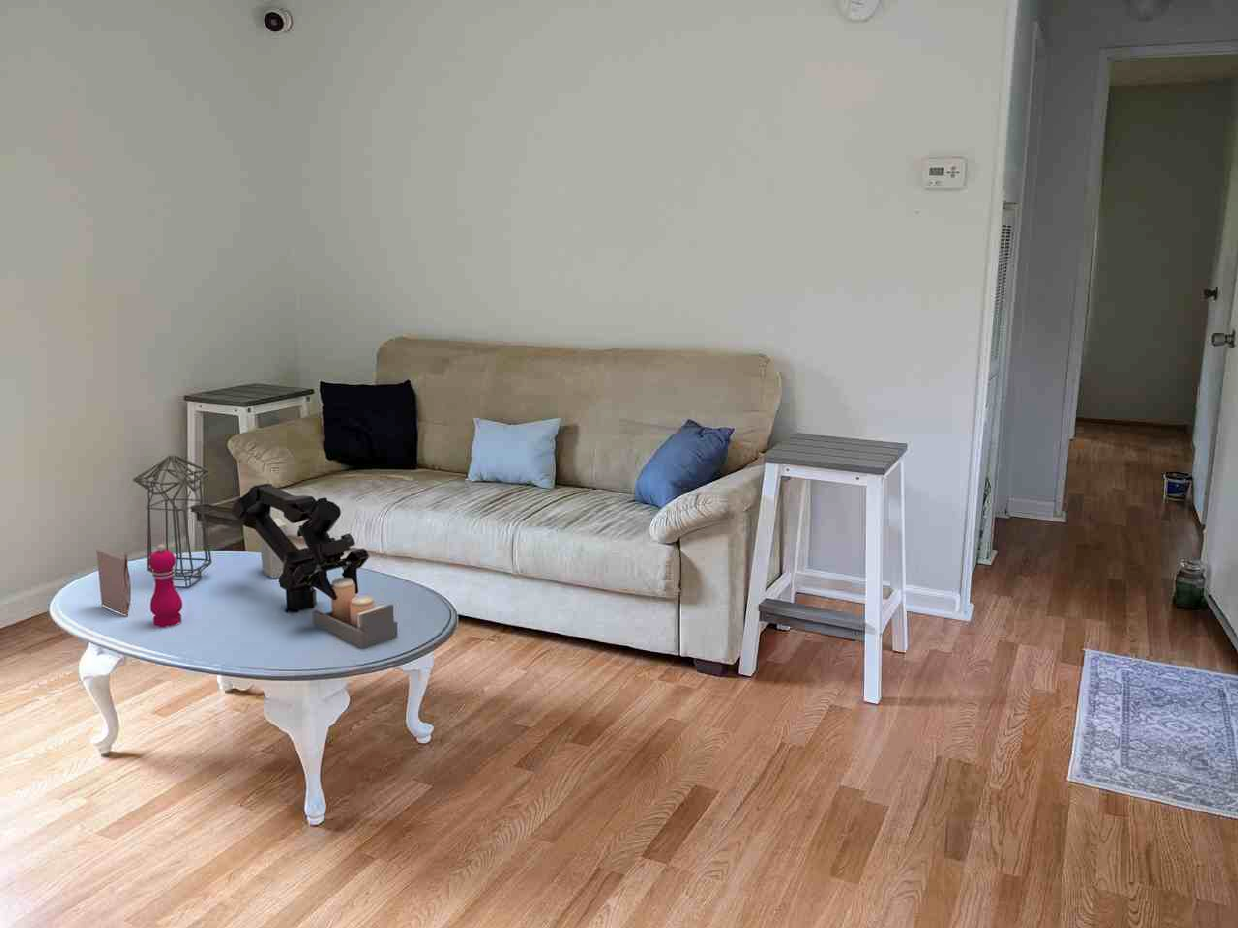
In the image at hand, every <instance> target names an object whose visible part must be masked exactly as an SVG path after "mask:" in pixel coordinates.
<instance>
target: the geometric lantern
mask: <svg viewBox="0 0 1238 928" xmlns="http://www.w3.org/2000/svg"><path fill="white" fill-rule="evenodd" d="M170 463H172V466H173V469H170V468H169V466H170ZM186 464H187V465H190V466H191V467H194V468H197V469H199V470H195V471H193V470H192V469H191V468H189V467H188V466H187V465H186ZM178 468H179V469H180V470H179V469H178ZM162 471H163V473H162V477H161V480H160V481H158V480H159V477H160V475H161V472H162ZM167 472H168V474H170V475H172V476H174V477H175V478H176V479H177V481H175V482H174V481H173V482H172V481H171V482H164V480H165V477H166V473H167ZM198 473H199V474H200V473H202V474H201V475H200V476H198ZM213 473H214V472H213V471H212V470H209V469H208V468H205V467H203V466H201V465H198V464H196V463H194V462H191V461H189V460H187V459H186V458H185V459H184V458H183V457H180V456H178V455H175V454H174V455H173V454H172V455H168V456H167V457H165V458H164V459H163V460H161V461H159V462H158V463H156V464H155V465H153V466H151V467H150V468H149V469H147V470H145V471H143V472H142V473H140V474H138V475H137V476H135V477H134V478H133V479H132V481H133V482H134V483H136V484H138V485H139V486H141V487H142V488H144V489H145V490H147V491H146V493H147V494H146V495H147V504H146V508H145V509H147V517H146V520H147V521H146V522H147V524H146V525H147V527H146V528H147V529H146V530H147V531H146V533H147V534H146V535H147V536H146V538H147V539H146V541H147V542H146V571H148V572H149V573H151V574H152V571H153V569H152V568H151V567H150V566H149V558H150V556H151V555H152V554H153V553H152V535H151V532H152V531H151V514H150V513H151V512H150V510H154V511H164V512H165V550H167V551H169V524H168V523H169V522H168V521H169V517H168V515H169V514H168V512H169V511H172V516H173V529H174V531H173V533H174V545H175V546H174V547H175V558H176V564H175V566H174V567H175V568H173V569H174V573H175V575H174V576H173V581H184V583H185V586H184V585H174V586H175V588H183V589H189V588H190V587H193V585H195V584H196V583H198V582H199V581H200V580H202V579H203V577H202V572H203V571H205V569H207V567H209V566H210V565H211V564H212V557H211V549H210V542H209V538H208V530H207V524H206V518H205V512H204V506H203V505H204V504H203V503H204V499H203V489H202V488H203V485H204V483H205V482H206V481H207V479H208V477H209V476H210V475H211V474H213ZM180 474H183V476H184V479H183V478H181V475H180ZM146 475H147V476H146ZM144 476H145V477H144ZM191 476H194V477H193V478H191ZM150 478H152V480H149V479H150ZM202 479H203V480H202ZM198 481H199V485H198V486H197V485H196V483H197V482H198ZM157 484H158V485H159V487H160V490H161V491H160V490H159V488H158V487H157ZM170 485H171V486H170ZM184 485H187V486H188V488H189V489H190V491H189V493H188V494H187V497H186V498H176V497H177V496H178V494H179V493H180V491H181V488H183V486H184ZM163 486H170V487H168V488H167V489H165V490H164V489H163ZM178 486H179V487H178ZM196 486H197V487H196ZM176 487H178V488H177V491H176V492H175V493H174V495H173V497H172V498H170V497H169V495H168V494H167V492H169V491H171V490H172V489H174V488H176ZM154 488H155V490H156V491H157V492H155V491H154ZM197 490H199V494H200V496H199V497H200V499H199V497H198V494H197ZM192 492H194V494H195V497H196V499H195V498H194V499H191V498H189V497H190V495H191V493H192ZM150 493H151V495H150ZM153 495H154V496H156V495H161V497H163V500H160V501H157V502H155V503H152V504H150V503H151V500H152V498H153ZM175 500H176V501H184V502H183V503H182V504H183V505H182V506H181V508H178V507H177V506H176V504H175ZM187 501H188V502H189V501H191V502H192V501H193V502H194V501H195V502H199V503H196V504H194V505H191V506H189V507H186V508H184V506H185V504H186V503H187ZM163 502H165V504H164V507H165V508H156V507H154V506H156V505H158V504H160V503H163ZM168 502H170V503H171V505H172V508H169V507H168ZM199 505H200V506H199ZM197 506H199V507H200V514H201V515H200V516H201V525H202V534H203V544H204V554H205V558H202V557H200V558H199V557H198V558H197V557H192V551H191V544H190V536H189V529H188V520H187V514H186V513H187V511H188V510H189V509H193V508H195V507H197ZM181 511H182V512H183V518H184V527H185V535H186V542H187V543H186V544H187V549H188V550H187V551H188V557H183V555H182V544H181V543H182V541H181V531H180V521H179V519H180V518H179V512H181ZM178 560H179V561H178ZM183 560H186V561H189V564H190V569H189V568H188V569H187V568H186V569H185V568H184V567H183ZM193 561H204V562H203V564H202V565H201V566H199V567H196V568H195V569H194V565H193ZM178 562H179V564H180V568H179V569H178ZM178 571H180V572H178ZM195 572H196V573H195ZM189 574H190V575H189ZM175 576H176V577H175ZM180 576H183V578H177V577H180ZM193 578H198V579H197V580H195V581H194V582H192V581H191V580H192V579H193ZM187 581H188V583H189V585H188V584H187Z"/></svg>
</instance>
